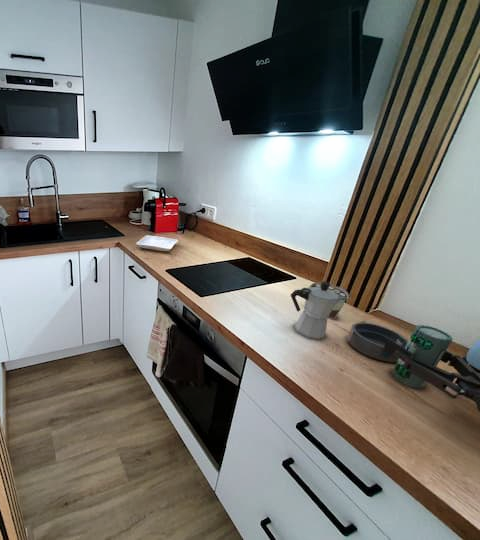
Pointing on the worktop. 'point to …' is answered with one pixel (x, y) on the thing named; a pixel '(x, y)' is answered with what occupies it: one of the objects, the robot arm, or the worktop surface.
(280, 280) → the worktop surface
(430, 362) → the can
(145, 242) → the plate
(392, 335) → the basin
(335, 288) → the food container
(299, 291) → the coffee maker
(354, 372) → the worktop surface
